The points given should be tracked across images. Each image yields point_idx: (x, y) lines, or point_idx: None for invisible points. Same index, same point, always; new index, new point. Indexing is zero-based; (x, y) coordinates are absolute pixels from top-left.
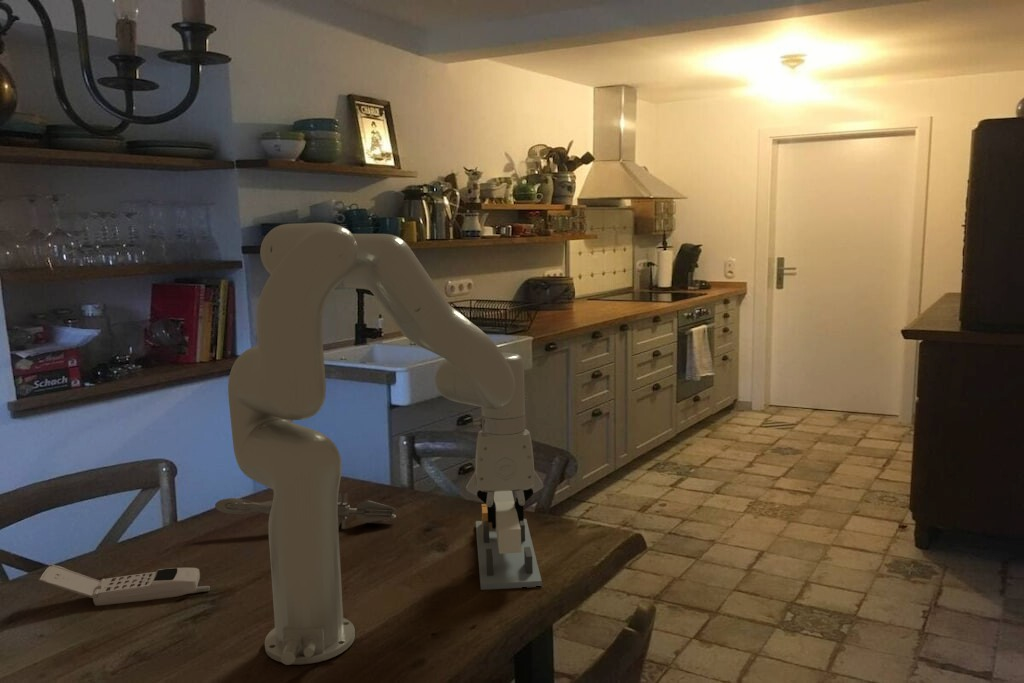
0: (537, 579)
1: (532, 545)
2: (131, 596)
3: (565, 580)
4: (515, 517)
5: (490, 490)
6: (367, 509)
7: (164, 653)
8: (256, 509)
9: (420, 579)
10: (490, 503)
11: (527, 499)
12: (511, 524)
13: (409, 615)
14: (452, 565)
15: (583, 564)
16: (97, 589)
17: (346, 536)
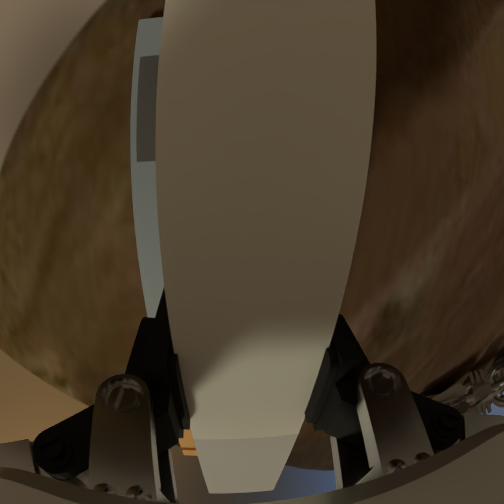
0: (150, 28)
1: (145, 296)
2: None
3: (69, 72)
4: (181, 165)
5: (475, 448)
6: (456, 404)
7: None
8: None
9: (462, 154)
10: (377, 383)
11: (84, 411)
12: None
13: (468, 10)
14: (393, 218)
15: (19, 182)
16: None
17: (479, 351)
